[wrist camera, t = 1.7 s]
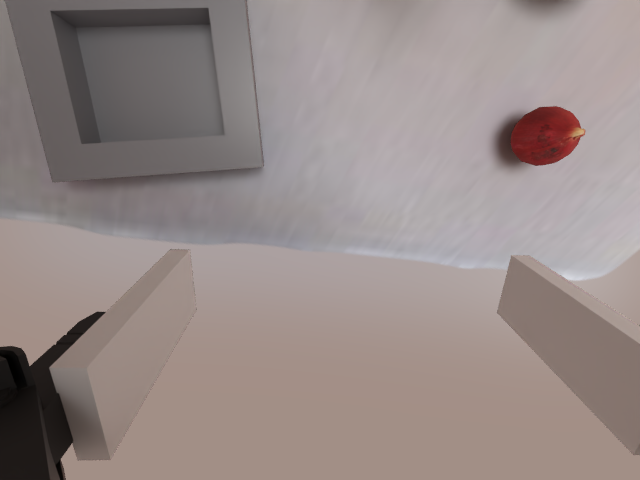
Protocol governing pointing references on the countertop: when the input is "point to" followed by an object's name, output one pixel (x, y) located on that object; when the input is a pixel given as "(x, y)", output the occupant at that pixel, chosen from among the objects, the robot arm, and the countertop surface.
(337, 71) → the countertop surface
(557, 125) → the red rounded lump
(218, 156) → the frame
